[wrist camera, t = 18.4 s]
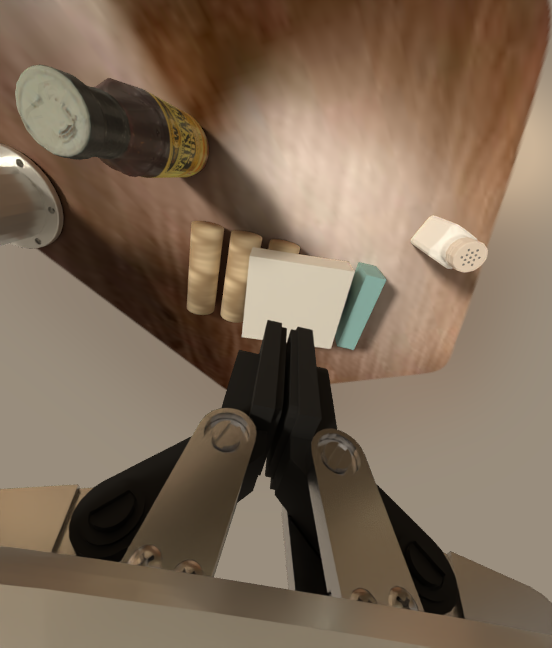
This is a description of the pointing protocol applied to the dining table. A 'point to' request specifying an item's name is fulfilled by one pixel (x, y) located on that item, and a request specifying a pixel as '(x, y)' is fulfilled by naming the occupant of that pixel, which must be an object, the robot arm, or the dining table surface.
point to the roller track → (207, 267)
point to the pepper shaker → (450, 245)
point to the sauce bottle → (110, 124)
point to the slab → (295, 293)
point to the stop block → (359, 304)
